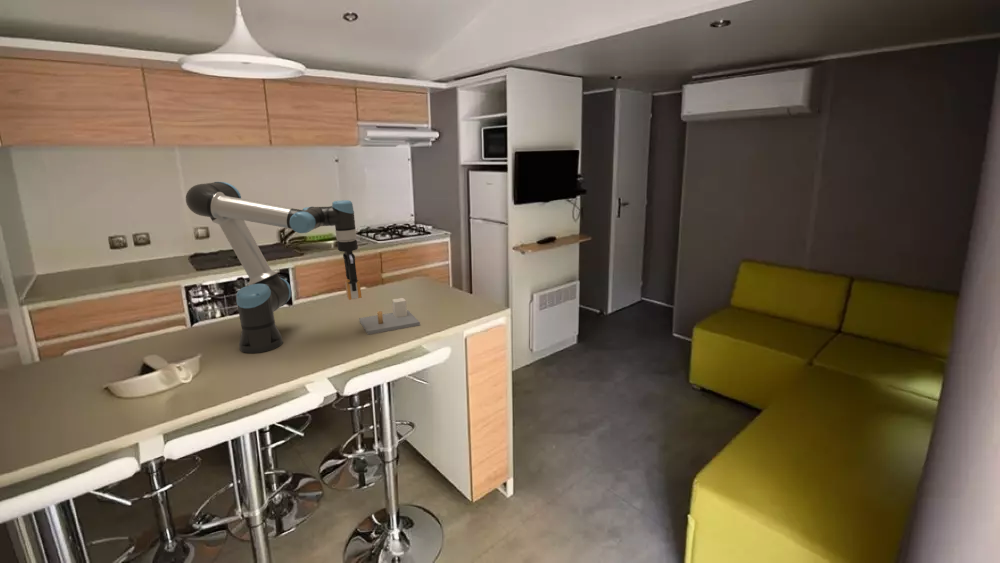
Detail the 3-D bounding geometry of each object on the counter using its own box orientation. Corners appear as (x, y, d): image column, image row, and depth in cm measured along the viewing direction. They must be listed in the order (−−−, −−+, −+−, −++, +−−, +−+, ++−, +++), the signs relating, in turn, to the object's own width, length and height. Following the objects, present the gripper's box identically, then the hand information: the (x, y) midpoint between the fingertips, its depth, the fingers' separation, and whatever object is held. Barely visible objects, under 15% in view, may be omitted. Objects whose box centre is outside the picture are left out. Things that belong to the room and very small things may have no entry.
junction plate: (367, 334, 197) (365, 314, 195) (359, 321, 213) (357, 302, 210) (419, 325, 206) (418, 306, 204) (408, 313, 222) (406, 295, 220)
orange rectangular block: (348, 299, 194) (346, 283, 192) (347, 296, 198) (344, 280, 196) (361, 297, 196) (359, 281, 194) (359, 294, 200) (357, 278, 198)
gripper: (360, 242, 184) (367, 300, 190) (353, 235, 200) (359, 289, 206) (340, 244, 181) (347, 303, 187) (334, 237, 197) (341, 292, 203)
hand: (353, 296), depth 197 cm, fingers closed on orange rectangular block, 5 cm apart
